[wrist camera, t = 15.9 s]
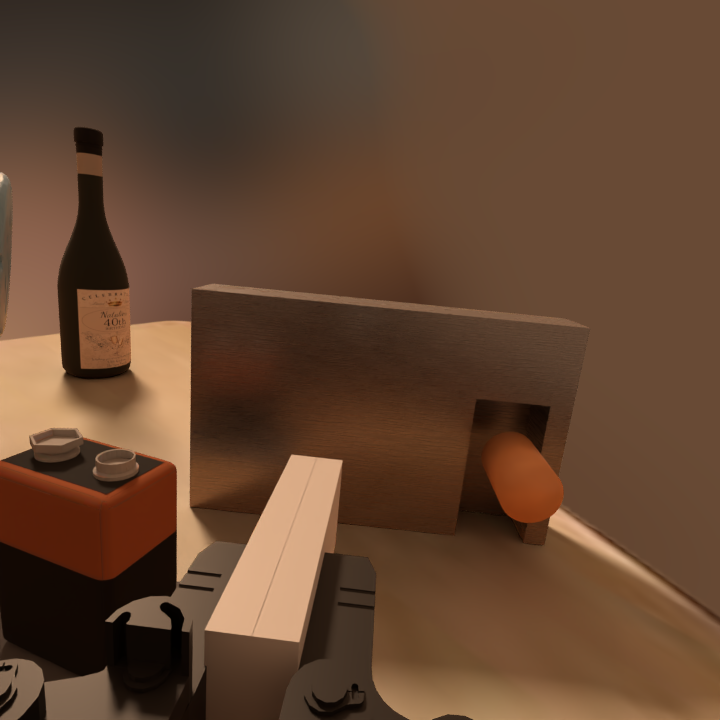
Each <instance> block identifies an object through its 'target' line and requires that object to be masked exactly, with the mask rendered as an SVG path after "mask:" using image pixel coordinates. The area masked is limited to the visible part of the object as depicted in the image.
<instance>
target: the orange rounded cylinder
mask: <svg viewBox="0 0 720 720" xmlns="http://www.w3.org/2000/svg"><path fill="white" fill-rule="evenodd" d="M481 459H482V464H483V467H484V469H485V471H486V474H487V476H488V478H489V480H490V482H491V485H492V487H493V489H494V491H495V493H496V496H497V498H498V500H499V502H500V504H501V506H502V508H503V510H504V511H505V513H506V514H507V515H508V516H510V517H511V518H513V519H514V520H517V521H520V522H524V523H535V522H540V521H543V520H545V519H547V518H549V517H550V516H552V515H553V514H554V513H555V512H556V511H557V510H558V509H559V507H560V505H561V503H562V500H563V495H564V490H563V485H562V483H561V480H560V479H559V477H558V476H557V475H556V473H555V472H554V471H553V469H552V468H551V467H550V466H549V464H548V463H547V462H546V460H545V459H544V458H543V456H542V455H541V454H540V452H539V451H538V450H537V448H536V447H535V446H534V444H533V443H532V442H531V441H530V440H529V438H527V437H526V436H524V435H523V434H520V433H517V432H503V433H499V434H497V435H495V436H494V437H492V438H491V439H490V440H489V441H488V442H487V443H486V444H485V446H484V448H483V451H482V456H481Z"/></svg>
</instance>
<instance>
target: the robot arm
mask: <svg viewBox="0 0 720 720" xmlns="http://www.w3.org/2000/svg"><path fill="white" fill-rule="evenodd" d="M11 246H12V188H11V185H10V180H9V178H8V177H7V176H6V175H5V174H3V173H2V172H0V337H1V335H2V334H3V331H4V329H5V324H6V318H7V310H8V299H9V285H10V270H11ZM342 462H343V460H335V459H326V458H317V457H308V456H299V455H291V457H290V459H289V461H288V463H287V465H286V467H285V469H284V471H283V473H282V475H281V477H280V479H279V481H278V483H277V485H276V487H275V489H274V491H273V493H272V495H271V497H270V499H269V501H268V503H267V505H266V507H265V509H264V511H263V513H262V515H261V517H260V519H259V521H258V523H257V525H256V527H255V529H254V531H253V533H252V535H251V537H250V539H249V541H248V543H247V545H246V544H238V543H229V542H221V541H215V542H214V543H213V544H211V545H210V546H208V547H207V548H206V549H204V550H203V551H202V552H200V553H199V554H198V555H197V557H196V558H195V560H194V561H193V563H192V565H191V566H190V568H189V569H188V572H187V573H186V574H185V575H184V577H183V579H182V580H181V582H180V583H179V587H178V588H176V590H175V591H174V593H173V594H172V596H171V597H168V596H150V597H146V598H143V599H139V600H135V601H132V602H131V603H129V604H127V605H125V606H123V607H121V608H119V609H118V610H116V611H115V612H114V613H113V614H112V615H111V616H110V617H109V618H108V619H107V620H106V621H105V637H106V660H107V666H106V668H105V669H104V670H103V671H101V672H98V673H95V674H90V675H86V676H82V677H75V678H69V679H63V680H56V681H50V682H44V678H43V672H42V668H40V667H39V666H38V665H37V664H36V663H34V662H33V661H30V660H24V659H18V658H16V659H9V660H2V661H0V720H409V719H407V718H405V717H403V716H402V715H400V714H398V713H397V712H395V711H394V710H392V709H391V708H390V707H389V706H388V705H387V704H386V703H385V702H384V701H383V700H382V698H381V697H380V695H379V694H378V692H377V691H376V688H375V685H374V682H373V680H372V670H371V667H372V648H373V628H374V607H375V589H376V572H375V570H374V568H373V566H372V564H371V563H370V561H369V559H368V557H359V556H351V555H343V554H334V549H335V543H336V532H337V520H338V509H339V497H340V486H341V474H342ZM433 720H473V719H470V718H468V717H466V716H459V715H449V714H448V715H445V716H441V717H438V718H435V719H433Z"/></svg>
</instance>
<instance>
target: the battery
mask: <svg viewBox="0 0 720 720" xmlns="http://www.w3.org/2000/svg"><path fill="white" fill-rule="evenodd" d="M29 437H30V444H31V446H32V449H30V450H27V451H24V452H22V453H19V454H17V455H14V456H11V457H9V458H6V459H3V460H1V461H0V613H1V623H2V632H3V637H4V639H5V640H7V641H8V642H10V643H12V644H14V645H16V646H18V647H20V648H23V649H25V650H27V651H29V652H31V653H33V654H35V655H37V656H39V657H41V658H43V659H45V660H47V661H50V662H52V663H54V664H56V665H58V666H60V667H62V668H64V669H66V670H68V671H70V672H72V673H74V674H76V675H79V676H81V677H82V676H86V675H90V674H95V673H98V672H101V671H103V670H104V669H105V668H106V666H107V660H106V637H105V621H106V620H107V619H108V618H109V617H110V616H111V615H112V614H113V613H114V612H115V611H116V610H118V609H119V608H121V607H123V606H125V605H127V604H129V603H131V602H132V601H135V600H139V599H143V598H146V597H150V596H168V597H171V596H172V594H173V593H174V591H175V590H176V578H177V471H176V467H175V465H174V464H172V463H170V462H168V461H165V460H161V459H158V458H154V457H151V456H147V455H144V454H140V453H137V452H133V451H131V450H128V449H122V448H119V447H115V446H112V445H108V444H105V443H101V442H98V441H94V440H90V439H87V438H83V436H82V435H81V433H80V432H79V430H78V429H72V428H50V429H48V430H45V431H42V432H39V433H36V434H33V435H31V436H29Z"/></svg>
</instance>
